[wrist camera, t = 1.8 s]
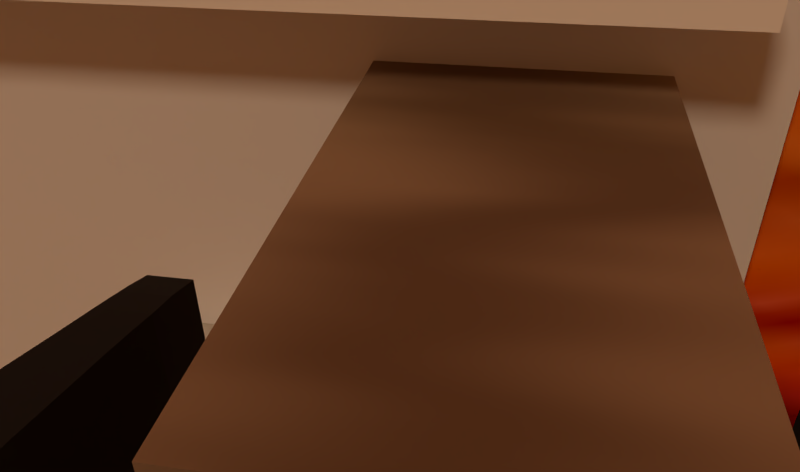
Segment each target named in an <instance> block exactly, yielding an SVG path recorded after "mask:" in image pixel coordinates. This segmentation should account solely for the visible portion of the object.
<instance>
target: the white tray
mask: <svg viewBox="0 0 800 472" xmlns="http://www.w3.org/2000/svg"><path fill="white" fill-rule="evenodd" d="M373 61H391V62H411V63H430V64H449V65H468V66H488V67H507V68H526V69H545V70H564V71H584V72H603V73H622V74H641V75H661V76H674V77H675V80H676V83H677V86H678V89H679V92H680V95H681V98H682V101H683V104H684V107H685V110H686V113H687V116H688V119H689V122H690V125H691V128H692V131H693V134H694V137H695V140H696V143H697V146H698V149H699V152H700V155H701V158H702V161H703V164H704V167H705V170H706V172H707V175H708V178H709V181H710V184H711V187H712V190H713V193H714V196H715V199H716V202H717V205H718V208H719V211H720V214H721V217H722V220H723V223H724V226H725V229H726V232H727V235H728V238H729V241H730V244H731V247H732V250H733V253H734V256H735V259H736V262H737V265H738V268H739V271H740V274H741V277H742V280H743V283H744V280H745V276H746V273H747V269H748V266H749V263H750V259H751V256H752V252H753V249H754V245H755V242H756V238H757V235H758V232H759V228H760V225H761V221H762V218H763V214H764V211H765V207H766V204H767V201H768V197H769V194H770V190H771V187H772V183H773V180H774V176H775V173H776V169H777V166H778V163H779V159H780V156H781V152H782V149H783V145H784V142H785V138H786V135H787V132H788V128H789V125H790V121H791V118H792V114H793V111H794V107H795V104H796V101H797V97H798V94H799V90H800V0H0V369H1V368H2V367H4V366H5V365H7V364H9V363H10V362H12V361H13V360H15V359H16V358H18V357H19V356H21V355H22V354H24V353H26V352H27V351H29V350H30V349H32V348H33V347H35V346H36V345H38V344H39V343H41V342H43V341H44V340H46V339H47V338H49V337H50V336H52V335H53V334H55V333H56V332H58V331H59V330H61V329H62V328H64V327H66V326H67V325H69V324H70V323H72V322H73V321H75V320H76V319H78V318H79V317H81V316H82V315H84V314H85V313H87V312H88V311H90V310H91V309H93V308H94V307H96V306H97V305H99V304H101V303H102V302H104V301H105V300H107V299H108V298H110V297H111V296H113V295H115V294H116V293H118V292H119V291H121V290H122V289H124V288H126V287H127V286H129V285H131V284H132V283H134V282H136V281H138V280H139V279H141V278H143V277H144V276H146V275H152V276H162V277H172V278H182V279H192V280H194V285H195V290H196V295H197V300H198V305H199V310H200V315H201V320H202V325H203V330H204V335H205V339H206V338H207V336H208V334H209V333H210V331H211V329H212V328H213V326H214V324H215V323H216V321H217V319H218V318H219V316H220V314H221V313H222V311H223V309H224V308H225V306H226V304H227V303H228V301H229V299H230V298H231V296H232V294H233V293H234V291H235V289H236V288H237V286H238V285H239V283H240V281H241V280H242V278H243V276H244V275H245V273H246V271H247V270H248V268H249V266H250V265H251V263H252V261H253V260H254V258H255V256H256V255H257V253H258V251H259V250H260V248H261V246H262V245H263V243H264V241H265V240H266V238H267V236H268V235H269V233H270V231H271V230H272V228H273V226H274V225H275V223H276V221H277V220H278V218H279V217H280V215H281V213H282V212H283V210H284V208H285V207H286V205H287V203H288V202H289V200H290V198H291V197H292V195H293V193H294V192H295V190H296V188H297V187H298V185H299V183H300V182H301V180H302V178H303V177H304V175H305V173H306V172H307V170H308V168H309V167H310V165H311V163H312V162H313V160H314V158H315V157H316V155H317V154H318V152H319V150H320V149H321V147H322V145H323V144H324V142H325V140H326V139H327V137H328V135H329V134H330V132H331V130H332V129H333V127H334V125H335V124H336V122H337V120H338V119H339V117H340V115H341V114H342V112H343V110H344V109H345V107H346V105H347V104H348V102H349V100H350V99H351V97H352V95H353V94H354V92H355V91H356V89H357V87H358V86H359V84H360V82H361V81H362V79H363V77H364V76H365V74H366V72H367V71H368V69H369V67H370V66H371V64H372V62H373Z"/></svg>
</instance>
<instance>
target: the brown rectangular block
mask: <svg viewBox="0 0 800 472" xmlns="http://www.w3.org/2000/svg"><path fill="white" fill-rule="evenodd" d="M132 464H133V468H134V471H135V472H800V450H799V447H798V444H797V441H796V438H795V435H794V432H793V429H792V426H791V423H790V420H789V417H788V414H787V411H786V408H785V405H784V402H783V399H782V396H781V393H780V390H779V387H778V384H777V381H776V378H775V375H774V372H773V369H772V366H771V363H770V360H769V357H768V354H767V351H766V348H765V345H764V342H763V339H762V336H761V333H760V330H759V328H758V325H757V322H756V319H755V316H754V313H753V310H752V307H751V304H750V301H749V298H748V295H747V292H746V289H745V286H744V283H743V280H742V277H741V274H740V271H739V268H738V265H737V262H736V259H735V256H734V253H733V250H732V247H731V244H730V241H729V238H728V235H727V232H726V229H725V226H724V223H723V220H722V217H721V214H720V211H719V208H718V205H717V202H716V199H715V196H714V193H713V190H712V187H711V184H710V181H709V178H708V175H707V172H706V170H705V167H704V164H703V161H702V158H701V155H700V152H699V149H698V146H697V143H696V140H695V137H694V134H693V131H692V128H691V125H690V122H689V119H688V116H687V113H686V110H685V107H684V104H683V101H682V98H681V95H680V92H679V89H678V86H677V83H676V80H675V77H674V76H661V75H641V74H622V73H603V72H584V71H564V70H545V69H526V68H507V67H488V66H468V65H449V64H430V63H411V62H391V61H373V62H372V64H371V66H370V67H369V69H368V71H367V72H366V74H365V76H364V77H363V79H362V81H361V82H360V84H359V86H358V87H357V89H356V91H355V92H354V94H353V95H352V97H351V99H350V100H349V102H348V104H347V105H346V107H345V109H344V110H343V112H342V114H341V115H340V117H339V119H338V120H337V122H336V124H335V125H334V127H333V129H332V130H331V132H330V134H329V135H328V137H327V139H326V140H325V142H324V144H323V145H322V147H321V149H320V150H319V152H318V154H317V155H316V157H315V158H314V160H313V162H312V163H311V165H310V167H309V168H308V170H307V172H306V173H305V175H304V177H303V178H302V180H301V182H300V183H299V185H298V187H297V188H296V190H295V192H294V193H293V195H292V197H291V198H290V200H289V202H288V203H287V205H286V207H285V208H284V210H283V212H282V213H281V215H280V217H279V218H278V220H277V221H276V223H275V225H274V226H273V228H272V230H271V231H270V233H269V235H268V236H267V238H266V240H265V241H264V243H263V245H262V246H261V248H260V250H259V251H258V253H257V255H256V256H255V258H254V260H253V261H252V263H251V265H250V266H249V268H248V270H247V271H246V273H245V275H244V276H243V278H242V280H241V281H240V283H239V285H238V286H237V288H236V289H235V291H234V293H233V294H232V296H231V298H230V299H229V301H228V303H227V304H226V306H225V308H224V309H223V311H222V313H221V314H220V316H219V318H218V319H217V321H216V323H215V324H214V326H213V328H212V329H211V331H210V333H209V334H208V336H207V338H206V339H205V341H204V343H203V344H202V346H201V348H200V349H199V351H198V352H197V354H196V356H195V357H194V359H193V361H192V362H191V364H190V366H189V367H188V369H187V371H186V372H185V374H184V376H183V377H182V379H181V381H180V382H179V384H178V386H177V387H176V389H175V391H174V392H173V394H172V396H171V397H170V399H169V401H168V402H167V404H166V406H165V407H164V409H163V411H162V412H161V414H160V415H159V417H158V419H157V420H156V422H155V424H154V425H153V427H152V429H151V430H150V432H149V434H148V435H147V437H146V439H145V440H144V442H143V444H142V445H141V447H140V449H139V450H138V452H137V454H136V455H135V457H134V459H133V460H132Z"/></svg>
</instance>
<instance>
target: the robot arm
mask: <svg viewBox="0 0 800 472" xmlns="http://www.w3.org/2000/svg"><path fill="white" fill-rule="evenodd" d="M204 341H205V335H204V330H203V325H202V320H201V315H200V310H199V305H198V300H197V295H196V290H195V285H194V280H192V279H182V278H172V277H162V276H152V275H146V276H144V277H143V278H141V279H139V280H138V281H136V282H134V283H132V284H131V285H129V286H127V287H126V288H124V289H122V290H121V291H119V292H118V293H116V294H115V295H113V296H111V297H110V298H108V299H107V300H105V301H104V302H102V303H101V304H99V305H97V306H96V307H94V308H93V309H91V310H90V311H88V312H87V313H85V314H84V315H82V316H81V317H79V318H78V319H76V320H75V321H73V322H72V323H70V324H69V325H67V326H66V327H64V328H62V329H61V330H59V331H58V332H56V333H55V334H53V335H52V336H50V337H49V338H47V339H46V340H44V341H43V342H41V343H39V344H38V345H36V346H35V347H33V348H32V349H30V350H29V351H27V352H26V353H24V354H22V355H21V356H19V357H18V358H16V359H15V360H13V361H12V362H10V363H9V364H7V365H5V366H4V367H2V368H1V369H0V472H135V471H134V468H133V464H132V460H133V459H134V457H135V455H136V454H137V452H138V450H139V449H140V447H141V445H142V444H143V442H144V440H145V439H146V437H147V435H148V434H149V432H150V430H151V429H152V427H153V425H154V424H155V422H156V420H157V419H158V417H159V415H160V414H161V412H162V411H163V409H164V407H165V406H166V404H167V402H168V401H169V399H170V397H171V396H172V394H173V392H174V391H175V389H176V387H177V386H178V384H179V382H180V381H181V379H182V377H183V376H184V374H185V372H186V371H187V369H188V367H189V366H190V364H191V362H192V361H193V359H194V357H195V356H196V354H197V352H198V351H199V349H200V348H201V346H202V344H203V343H204ZM793 432H794V435H795V438H796V441H797V444H798V447H799V450H800V411H799V413H798V416H797V419H796V421H795V424H794V426H793Z"/></svg>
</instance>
